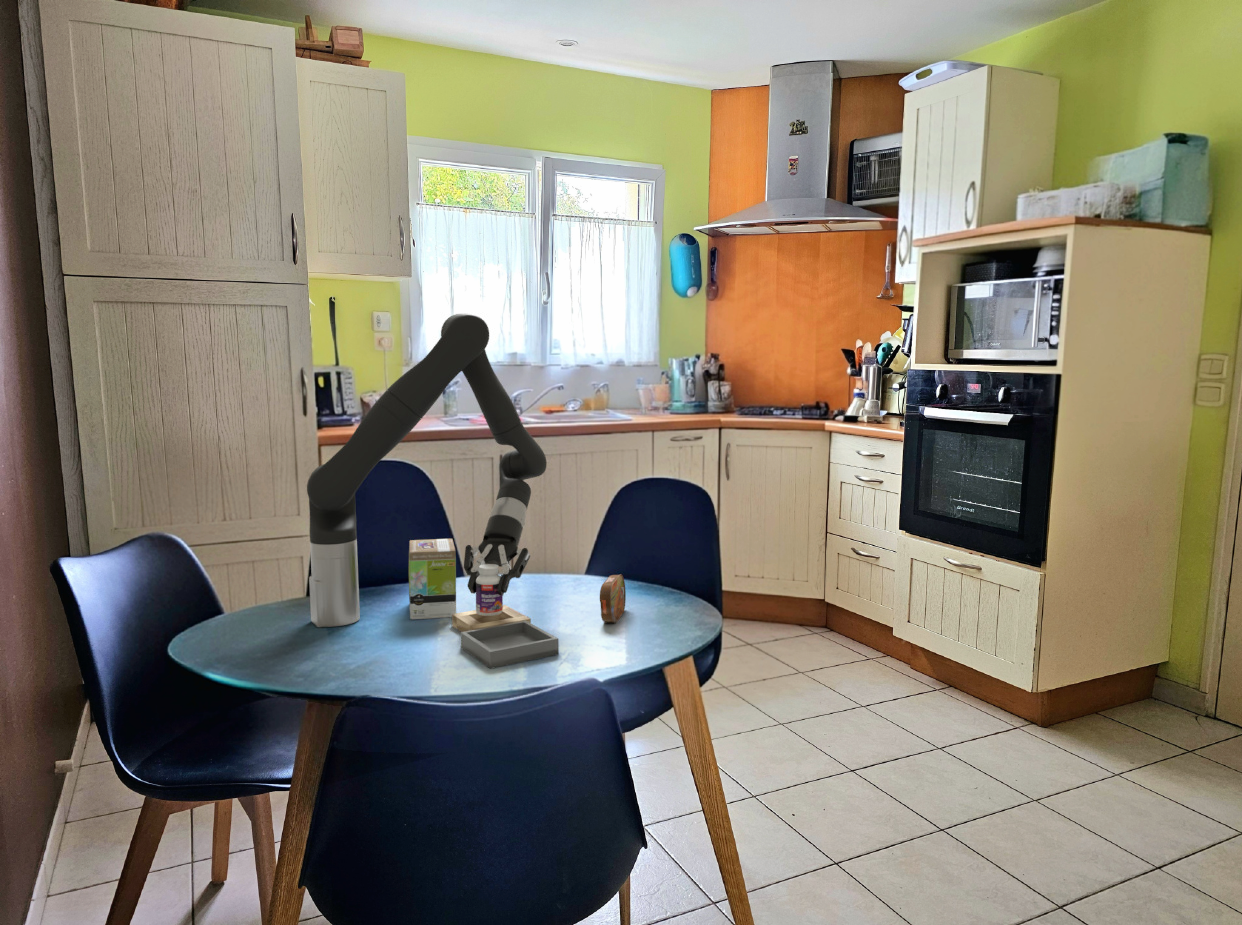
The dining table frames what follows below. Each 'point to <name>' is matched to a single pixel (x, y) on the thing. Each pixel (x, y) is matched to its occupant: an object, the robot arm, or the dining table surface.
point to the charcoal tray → (509, 644)
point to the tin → (612, 598)
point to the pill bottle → (488, 591)
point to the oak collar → (486, 619)
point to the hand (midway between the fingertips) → (486, 592)
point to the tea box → (432, 578)
